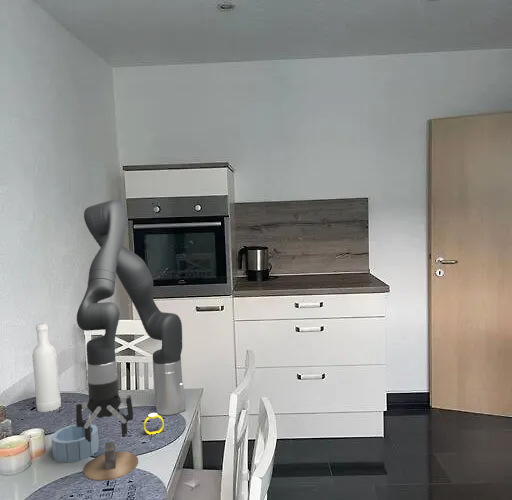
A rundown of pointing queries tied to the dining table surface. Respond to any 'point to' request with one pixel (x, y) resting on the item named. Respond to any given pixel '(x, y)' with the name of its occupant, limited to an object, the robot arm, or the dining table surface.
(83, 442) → the bowl
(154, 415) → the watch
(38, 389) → the bottle
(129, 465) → the lid
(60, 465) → the dining table surface
